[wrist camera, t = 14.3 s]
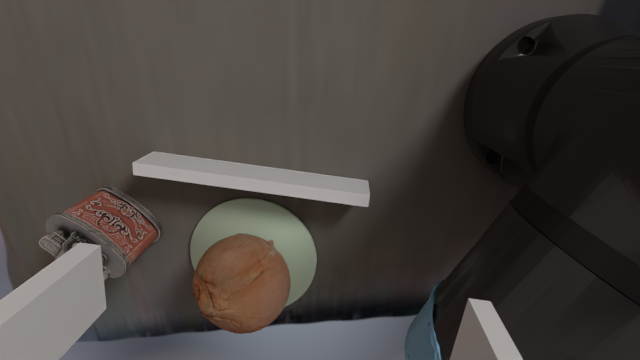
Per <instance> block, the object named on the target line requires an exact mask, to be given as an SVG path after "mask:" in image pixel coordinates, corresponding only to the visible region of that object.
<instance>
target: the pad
mask: <svg viewBox="0 0 640 360" xmlns="http://www.w3.org/2000/svg"><path fill="white" fill-rule="evenodd" d="M238 233H242V234H249V235H253V236H257V237H260V238H262V239H264V240H266V241H269V240H273V241H274V247H275V248H276V249H277V250H278V252H280V253H281V255H282V257H283V258H284V260H285V262H286V264H287V267H288V269H289V273H290V281H291V285H290V293H289V298H288V300H287V303H286V305H285V306H288V305H289V304H291V303H293V302H295V301H296V300H297V299H299V298H300V297H301V296H302V295H303V294H304V293H305V292H306V290H307V289H308V288H309V286H310V284H311V282H312V280H313V278H314V275H315V271H316V265H317V254H316V248H315V244H314V241H313V238H312V236H311V234H310V232H309V231H308V229H307V228H306V226H305V225H304V224H303V222H302V221H301V220H300V219H299V218H298V217H297V216H296V215H294V214H293V213H292V212H291V211H289V210H288V209H286V208H284V207H283V206H280V205H278V204H276V203H274V202H271V201H268V200H263V199H258V198H239V199H233V200H229V201H226V202H224V203H221V204H219V205H217V206H216V207H214V208H213V209H211V210H210V211H209V212H208V213H207V214H205V216H204V217H203V218H202V219H201V220H200V222H199V223H198V225H197V226H196V228H195V230H194V233H193V235H192V239H191V245H190V255H191V261H192V265H193V268H194V271H195V269H196V267H197V265H198V262H199V260H200V259H201V257H202V256H203V254H204V253H205V252H206V250H207V249H208V248H209V247H210V246H212V245H213V244H214V243H216V242H217V241H219V240H221V239H224V238H227V237H229V236H232V235H236V234H238Z"/></svg>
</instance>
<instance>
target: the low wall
mask: <svg viewBox="0 0 640 360" xmlns="http://www.w3.org/2000/svg"><path fill="white" fill-rule="evenodd" d="M133 175H138V176H145V177H152V178H160V179H167V180H174V181H181V182H189V183H196V184H203V185H210V186H218V187H225V188H232V189H239V190H247V191H254V192H261V193H268V194H276V195H283V196H290V197H297V198H304V199H312V200H319V201H326V202H333V203H341V204H348V205H355V206H362V207H368V205H369V199H370V190H369V184H368V180H361V179H353V178H346V177H339V176H331V175H324V174H317V173H309V172H302V171H295V170H287V169H280V168H273V167H265V166H258V165H251V164H243V163H236V162H229V161H221V160H214V159H206V158H199V157H192V156H184V155H177V154H170V153H162V152H155V151H153V152H152V153H150V154H148V155H146V156H144V157H142V158H140V159H138V160H137V161H135V162H133Z"/></svg>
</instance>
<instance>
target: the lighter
mask: <svg viewBox="0 0 640 360" xmlns="http://www.w3.org/2000/svg"><path fill="white" fill-rule="evenodd" d="M45 229H46V232H47V233H48V234H47V235H46V236H44V237H42V238H41V240H40V241H39V245H40V246H41V247H42V248H43V249H45V250H46V251H48V252H49V253H51V254H52V255H53V256H54V258H55V259H54V261H55V260H56V259H58V258H59V257H60V256H62V255H63V254H65V253H66V252H67V251H69V250H70V249H71V248H73V247H74V246H76V245H77V244H78V243H87V244H94V245H101V254H102V265H103V276H104V281H105V280H106V279H108V278H109V277H110V278H118V277H121V276H122V275H123V274H124V273H125V272H126V271H127V270H128V268H129V266H130V264H131V263H132V262H133V261H134V260H135V259H136V258H137V257H138V256H139V255H140V254H141V253H142V252H143V251H144V250H145V249H146V248H147V247H148V246H149V245H150V244H151V243H153V242H155V241H156V240H158V239H159V238H160V237H161V235H162V234H163V226H162V224H161V223H160V222H159V221H158V220H157V219H156V218H155V217H154V216H153V215H152V214H151V213H150V212H149V211H148V210H147V209H146V208H144V207H143V206H142V205H141V204H140V203H138V202H137V201H135V200H134V199H132V198H131V197H129V196H128V195H126V194H125V193H123V192H121V191H119V190H117V189H115V188H113V187H111V186H104V187H102V188H100V189H98V190H97V191H96V192H95V193H94V194H93V195H91V196H90V197H88V198H86V199H84V200H83V201H81V202H79V203H77V204H76V205H74V206H72V207H70V208H69V209H67V210H65V211H64V212H59V213H56V214H54V215H52V216H51V217H49V218H48V219H47V221H46V223H45Z"/></svg>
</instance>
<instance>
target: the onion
mask: <svg viewBox="0 0 640 360" xmlns="http://www.w3.org/2000/svg"><path fill="white" fill-rule="evenodd" d="M290 285H291V281H290V273H289V269H288V267H287V264H286V262H285V260H284V258H283V257H282V255H281V253H280V252H278V250H277V249H276V248H275V247H274V241H273V240H269V241H266V240H264V239H262V238H260V237H257V236H253V235H249V234H242V233H238V234H236V235H232V236H229V237H227V238H224V239H221V240H219V241H217V242H216V243H214V244H213V245H212V246H210V247H209V248H208V249H207V250H206V252H205V253H204V254H203V256H202V257H201V259H200V260H199V262H198V265H197V267H196V269H195V272H194V276H193V294H194V297H195V300H196V302H197V304H198V306H199V308H200V312H201V314H202V315H203V317H204V316H205V317H206V318H207V319H208V320H210V322H212V323H213V324H214V325H216V326H218V327H220V328H222V329H224V330H227V331H230V332H233V333H251V332H255V331H258V330H260V329H262V328H264V327H266V326H267V325H269V324H270V323H272V322H273V321H274V320H275V319H276V318H277V317H278V316H279V314H280V313H281V312H282V310H283V308H284V307H285V305H286V303H287V300H288V298H289V293H290Z"/></svg>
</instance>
